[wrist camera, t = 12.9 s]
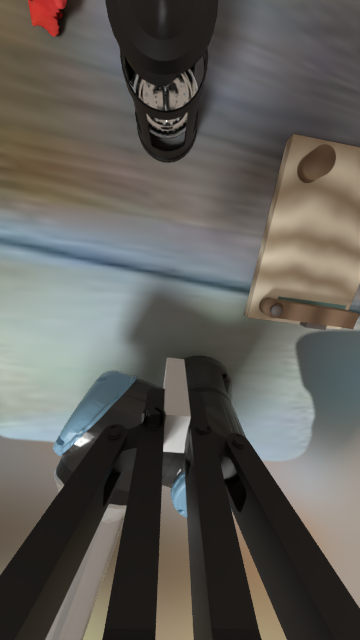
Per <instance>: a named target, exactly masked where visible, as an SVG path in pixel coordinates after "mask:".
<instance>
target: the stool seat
mask: <svg viewBox="0 0 360 640" xmlns="http://www.w3.org/2000/svg"><path fill="white" fill-rule="evenodd" d="M359 283H360V147H356V146H351V145H346V144H341V143H336V142H331V141H326V140H321V139H316V138H311V137H306V136H301V135H296V134H293V135H292V136H291V137H290V138H289V139H288V140H287V142H286V146H285V150H284V154H283V158H282V162H281V166H280V170H279V174H278V178H277V183H276V187H275V191H274V195H273V199H272V203H271V207H270V211H269V215H268V219H267V224H266V228H265V232H264V236H263V240H262V244H261V248H260V252H259V256H258V260H257V264H256V269H255V273H254V277H253V281H252V285H251V289H250V293H249V297H248V301H247V305H246V310H245V314H244V315H245V316H246V317H247V318H254V319H262V320H270V321H278V322H286V323H294V324H300V325H302V326H304V327H306V328H314V329H322V330H325V329H326V328H334V329H341V328H342V327H335V326H328V325H321V324H314V323H307V322H300V321H293V320H286V319H279V318H270V317H268V316H267V315H265V314H264V313H262V312H261V311H260V309H259V304H260V302H261V301H262V300H263V299H264V298H267V297H269V298H272V299H279V300H286V301H292V302H299V303H305V304H312V305H319V306H325V307H332V308H338V309H345V310H349V308H350V305H351V303H352V300H353V298H354V295H355V293H356V290H357V288H358V286H359Z"/></svg>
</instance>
